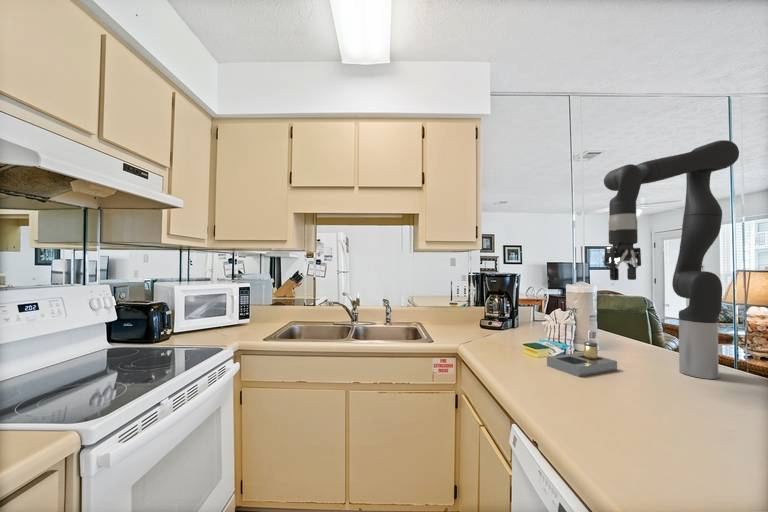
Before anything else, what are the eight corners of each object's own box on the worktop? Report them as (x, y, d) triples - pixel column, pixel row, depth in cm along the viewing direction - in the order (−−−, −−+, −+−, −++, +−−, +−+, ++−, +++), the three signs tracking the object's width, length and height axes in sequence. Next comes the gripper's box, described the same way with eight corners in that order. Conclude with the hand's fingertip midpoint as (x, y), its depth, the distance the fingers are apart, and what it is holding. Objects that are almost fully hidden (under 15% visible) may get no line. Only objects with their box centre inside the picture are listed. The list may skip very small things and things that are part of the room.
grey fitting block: (583, 360, 122) (583, 352, 122) (617, 370, 110) (617, 361, 111) (546, 365, 115) (546, 357, 115) (579, 376, 104) (579, 367, 104)
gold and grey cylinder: (589, 364, 117) (589, 341, 117) (600, 367, 113) (600, 343, 113) (581, 365, 115) (581, 342, 116) (592, 368, 112) (592, 344, 112)
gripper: (624, 231, 113) (625, 279, 112) (596, 229, 107) (596, 279, 107) (649, 229, 106) (650, 280, 106) (620, 226, 101) (620, 280, 100)
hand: (623, 279), depth 106 cm, fingers open, 8 cm apart
